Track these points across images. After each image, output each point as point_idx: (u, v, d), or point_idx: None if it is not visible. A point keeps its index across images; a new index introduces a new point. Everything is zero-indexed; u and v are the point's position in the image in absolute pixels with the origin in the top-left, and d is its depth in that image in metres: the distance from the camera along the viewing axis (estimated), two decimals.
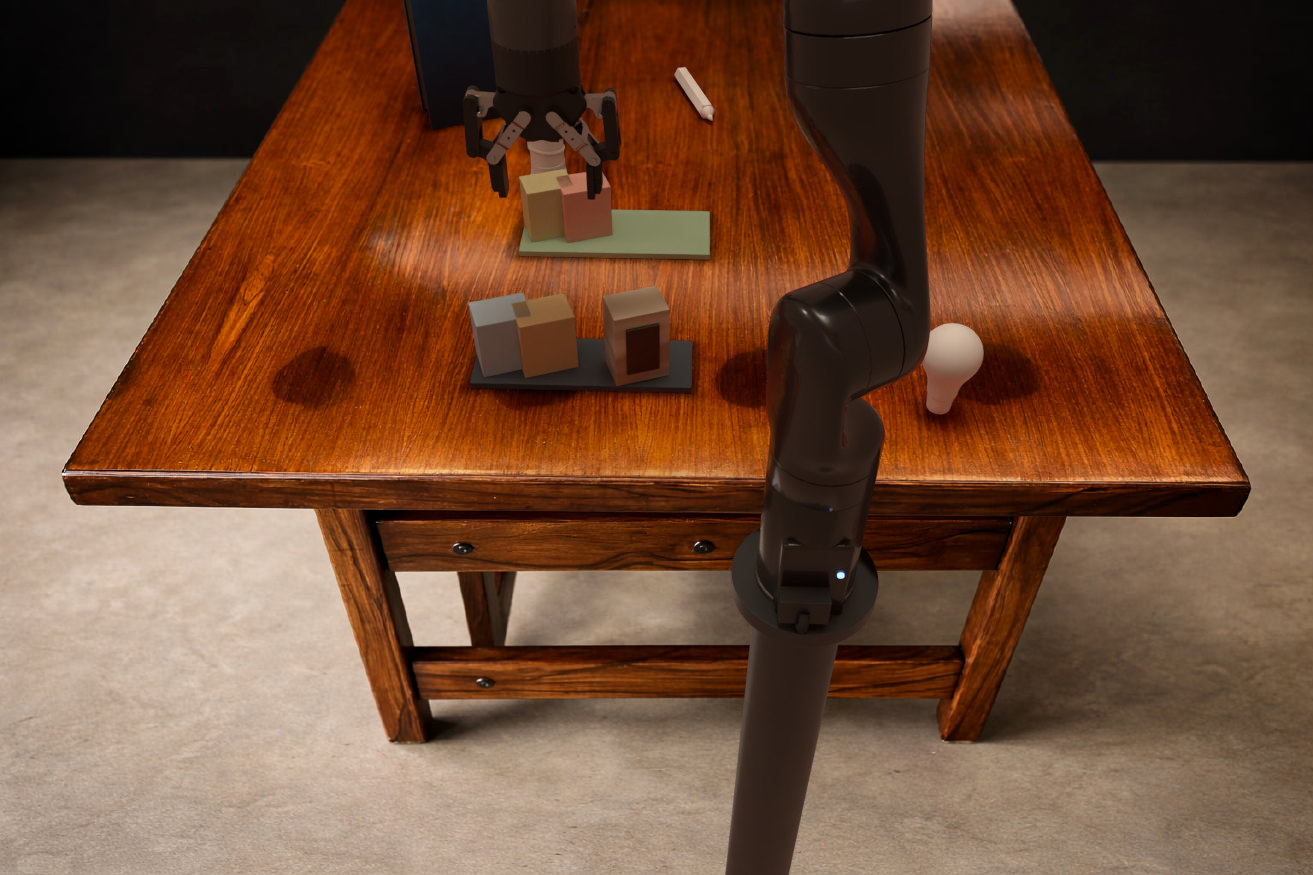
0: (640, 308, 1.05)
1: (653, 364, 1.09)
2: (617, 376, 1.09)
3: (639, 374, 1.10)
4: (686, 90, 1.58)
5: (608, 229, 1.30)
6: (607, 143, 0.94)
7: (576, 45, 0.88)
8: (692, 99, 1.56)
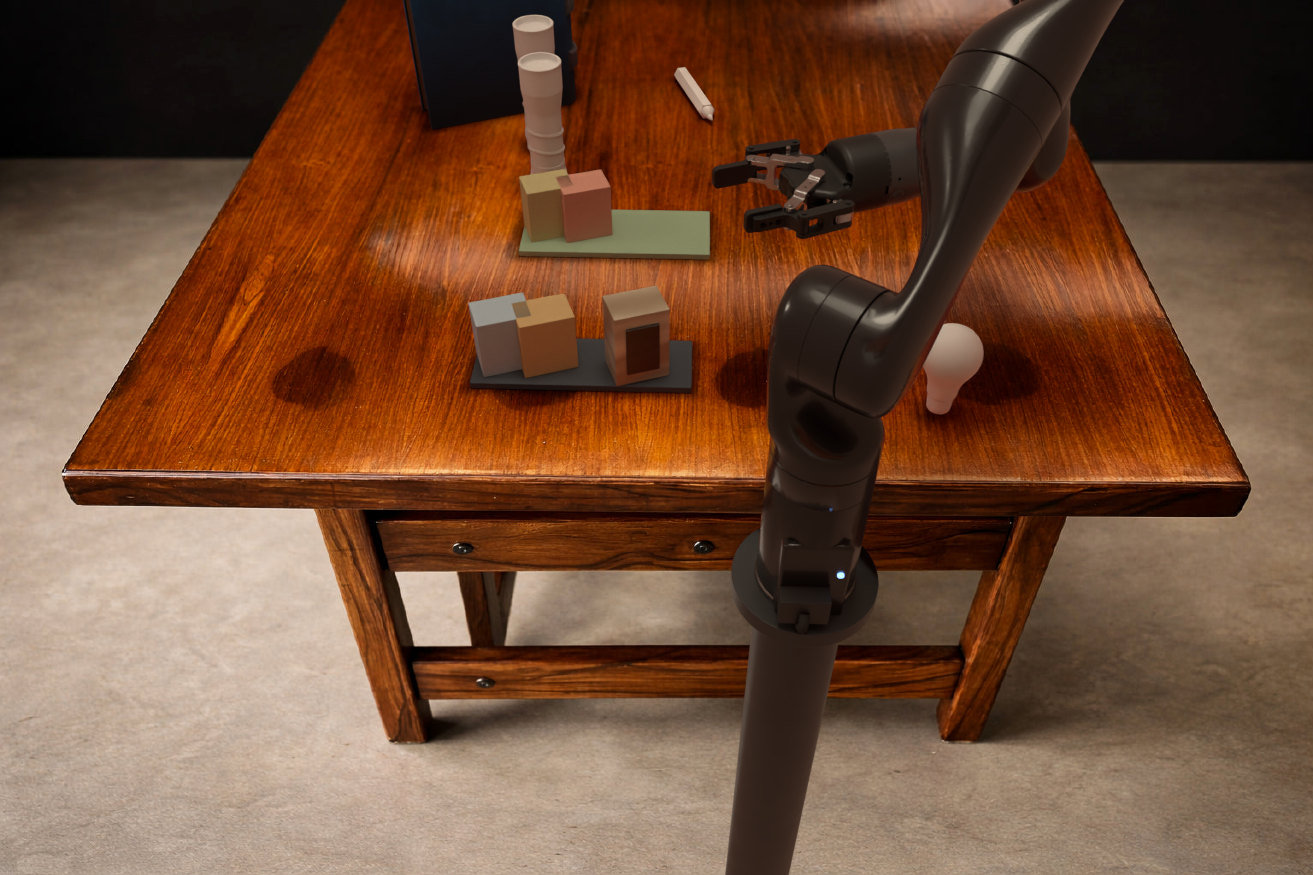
0: (640, 308, 1.05)
1: (653, 364, 1.09)
2: (617, 376, 1.09)
3: (639, 374, 1.10)
4: (686, 90, 1.58)
5: (608, 229, 1.30)
6: (813, 209, 0.97)
7: (884, 184, 1.01)
8: (692, 99, 1.56)
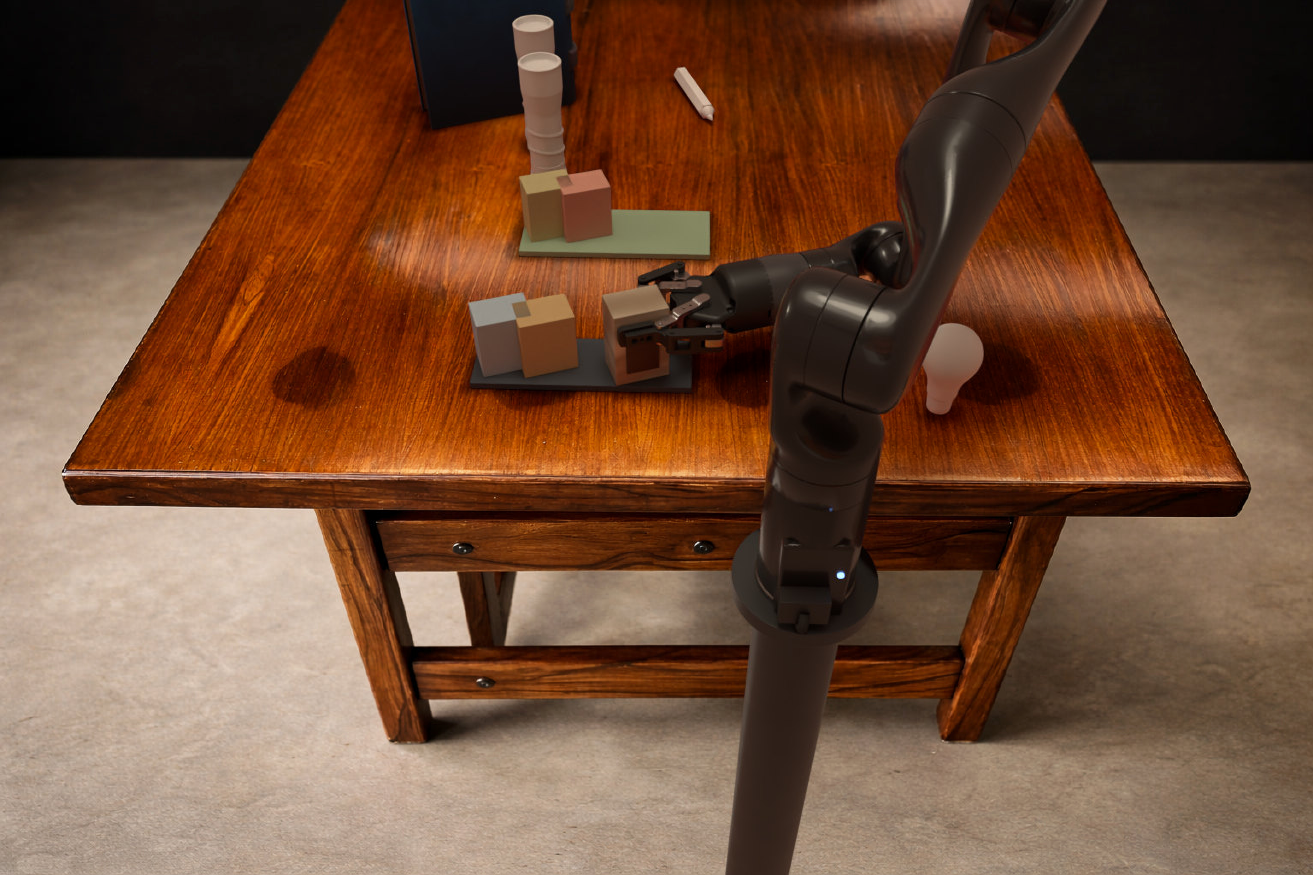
0: (640, 306, 1.05)
1: (653, 363, 1.09)
2: (617, 375, 1.09)
3: (639, 373, 1.10)
4: (686, 90, 1.58)
5: (608, 229, 1.30)
6: (683, 329, 1.04)
7: (766, 308, 1.07)
8: (692, 99, 1.56)
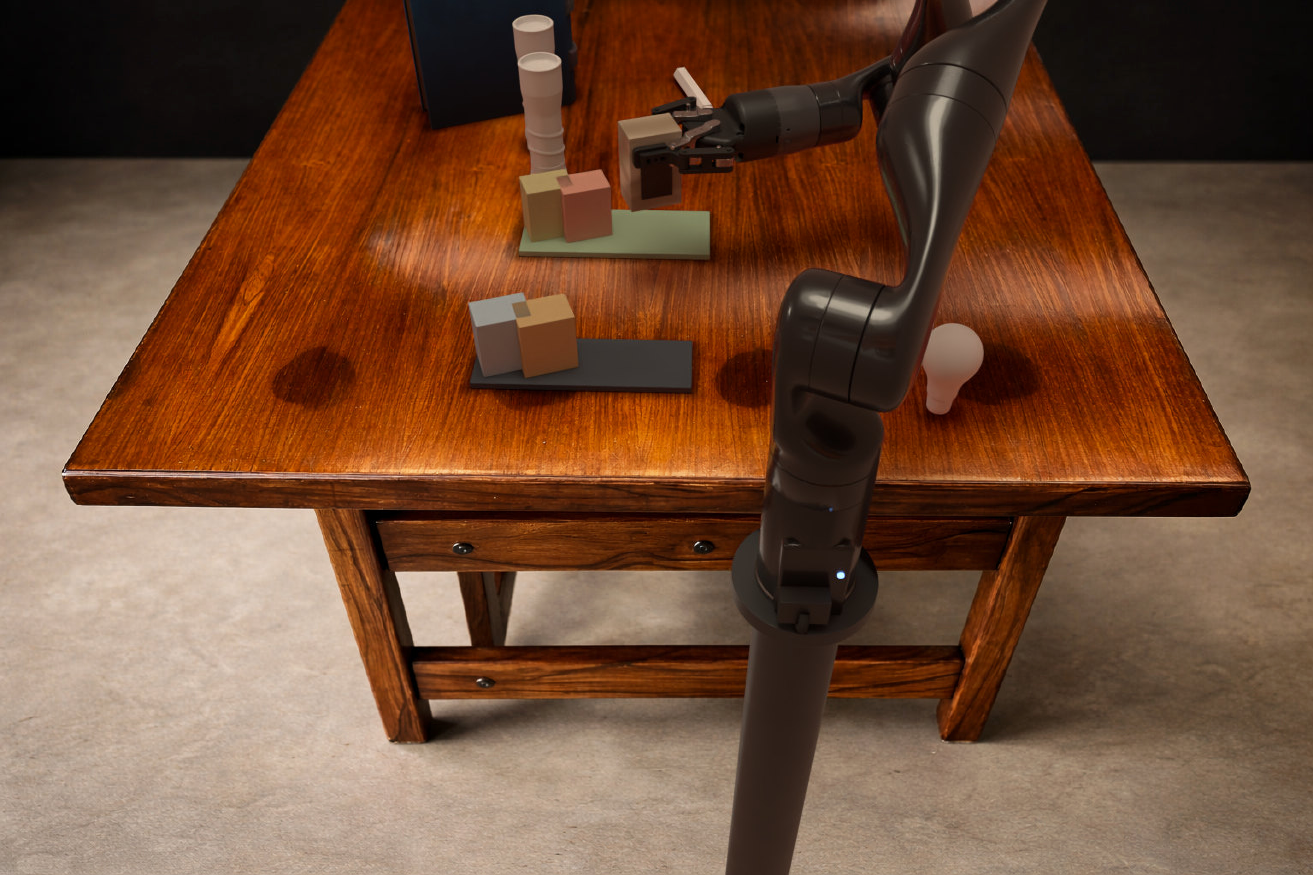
0: (654, 130, 1.11)
1: (666, 189, 1.15)
2: (632, 201, 1.15)
3: (653, 200, 1.15)
4: (686, 90, 1.58)
5: (608, 229, 1.30)
6: (694, 149, 1.09)
7: (774, 133, 1.12)
8: None
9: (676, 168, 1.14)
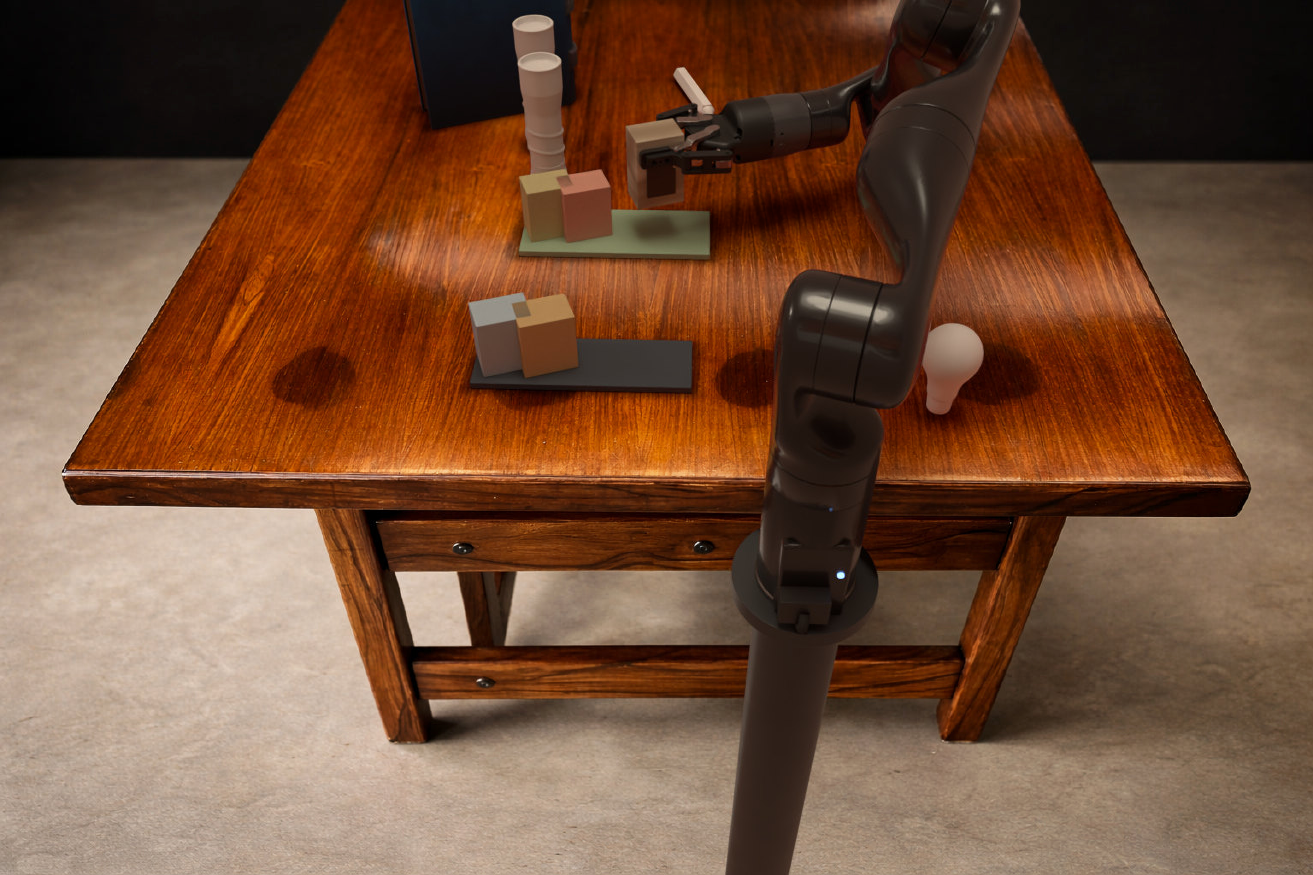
0: (659, 134, 1.21)
1: (670, 189, 1.25)
2: (638, 199, 1.25)
3: (658, 198, 1.26)
4: (686, 90, 1.58)
5: (608, 229, 1.30)
6: (696, 152, 1.20)
7: (769, 137, 1.23)
8: (692, 99, 1.56)
9: (679, 169, 1.24)
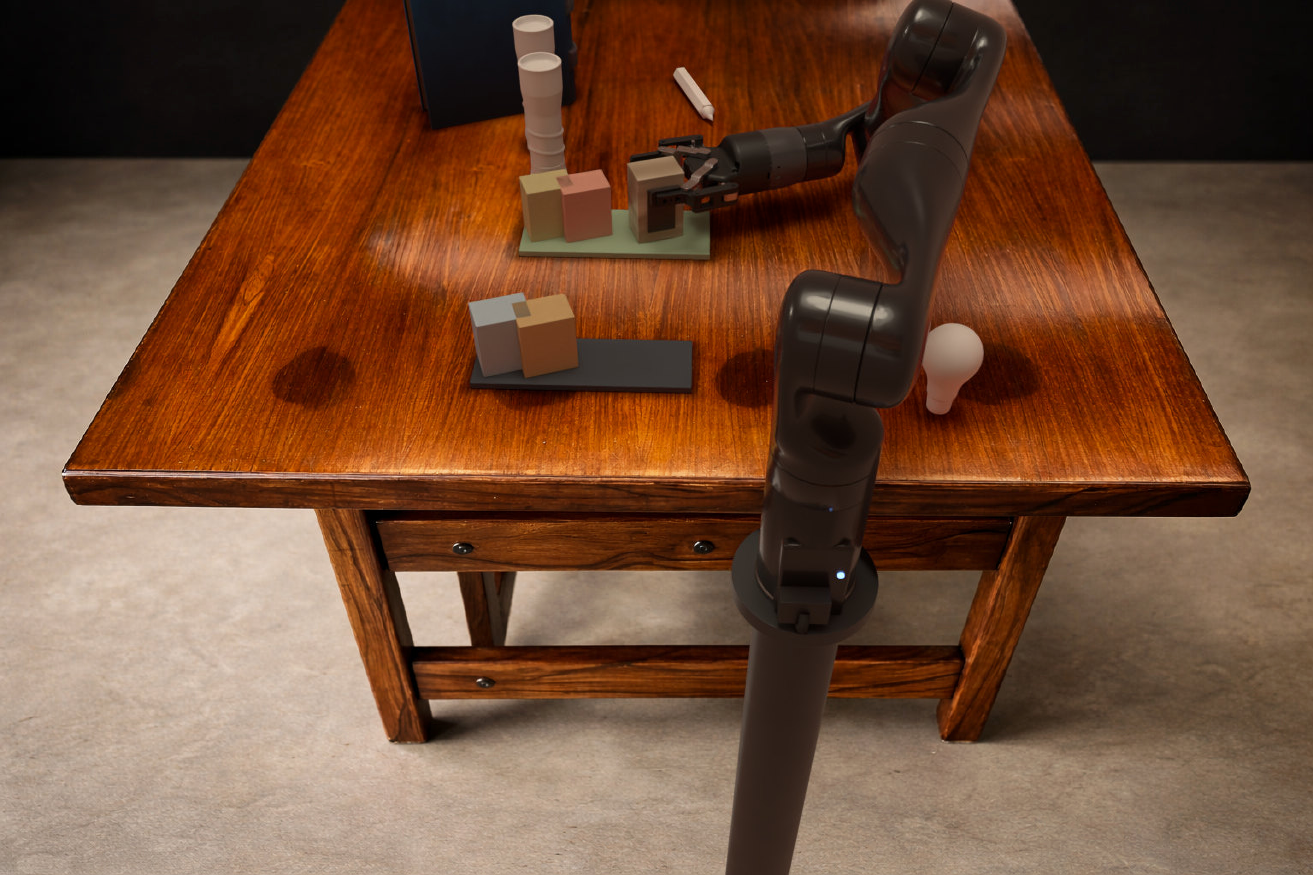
0: (659, 172, 1.24)
1: (670, 224, 1.28)
2: (639, 234, 1.28)
3: (658, 232, 1.29)
4: (685, 90, 1.58)
5: (608, 229, 1.30)
6: (704, 189, 1.22)
7: (766, 171, 1.26)
8: (692, 99, 1.56)
9: (679, 205, 1.27)
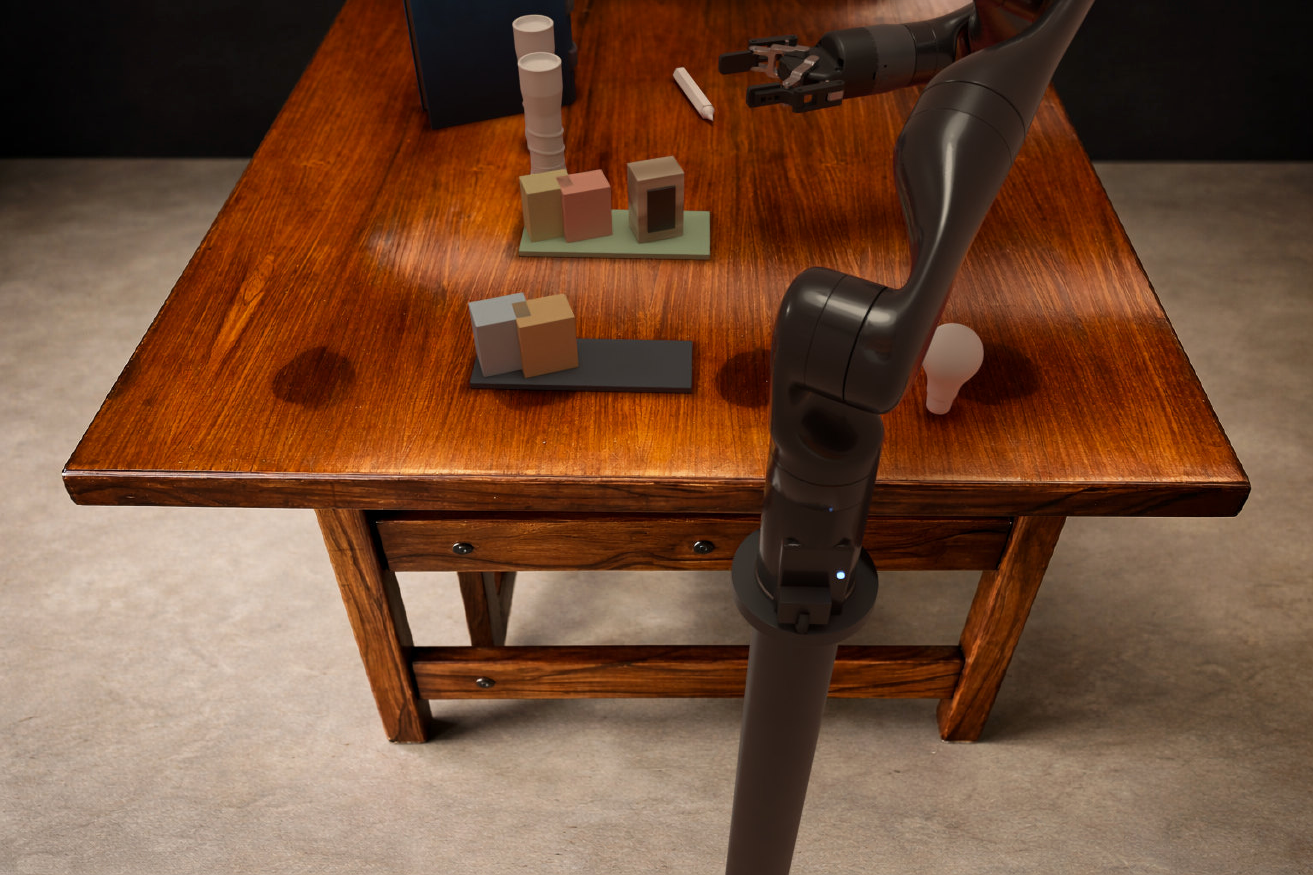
0: (659, 172, 1.24)
1: (670, 224, 1.28)
2: (639, 234, 1.28)
3: (658, 232, 1.29)
4: (685, 90, 1.58)
5: (608, 229, 1.30)
6: (807, 86, 1.10)
7: (872, 70, 1.14)
8: (692, 99, 1.56)
9: (679, 205, 1.27)
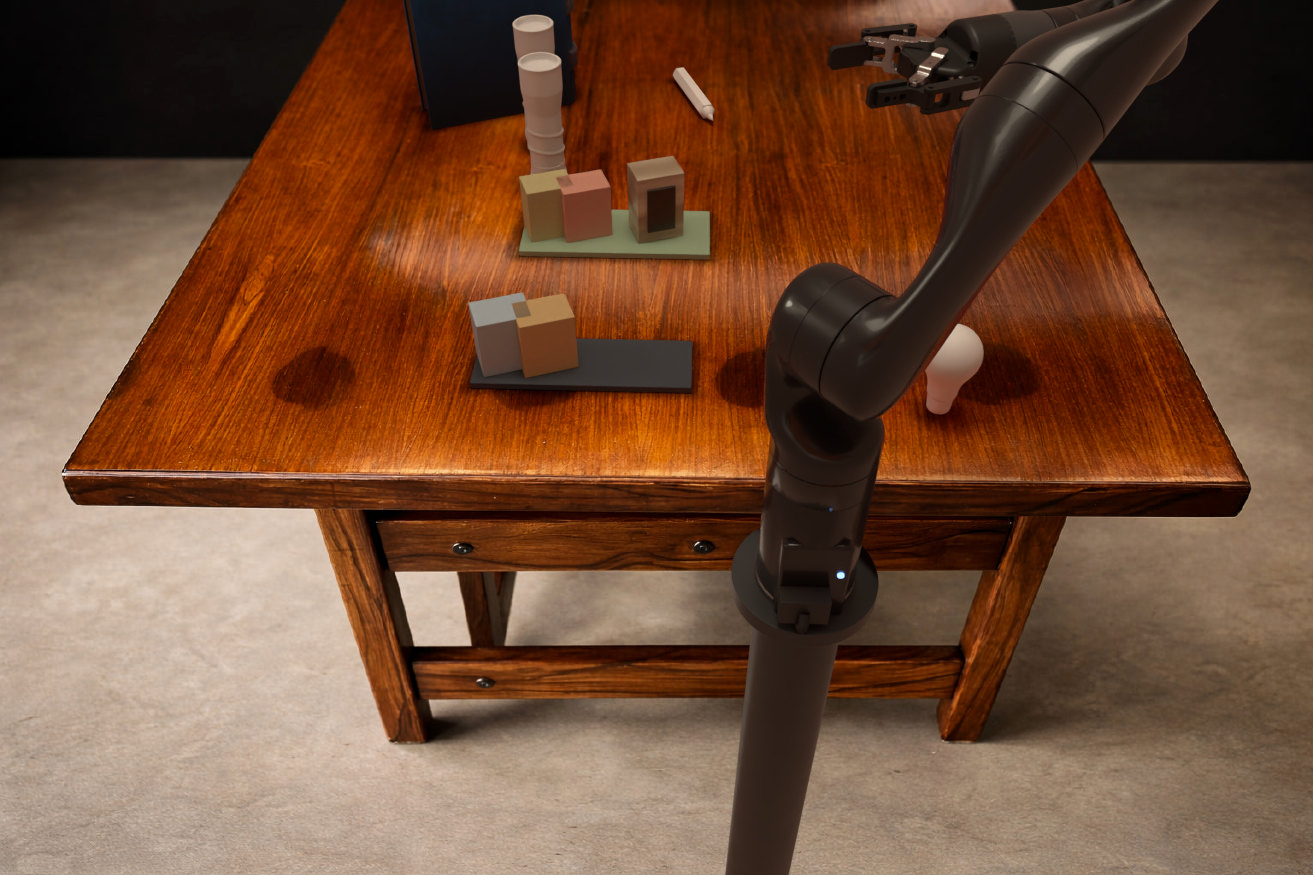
0: (659, 172, 1.24)
1: (670, 224, 1.28)
2: (639, 234, 1.28)
3: (658, 232, 1.29)
4: (685, 90, 1.58)
5: (608, 229, 1.30)
6: (939, 83, 0.94)
7: None
8: (692, 99, 1.56)
9: (679, 205, 1.27)
